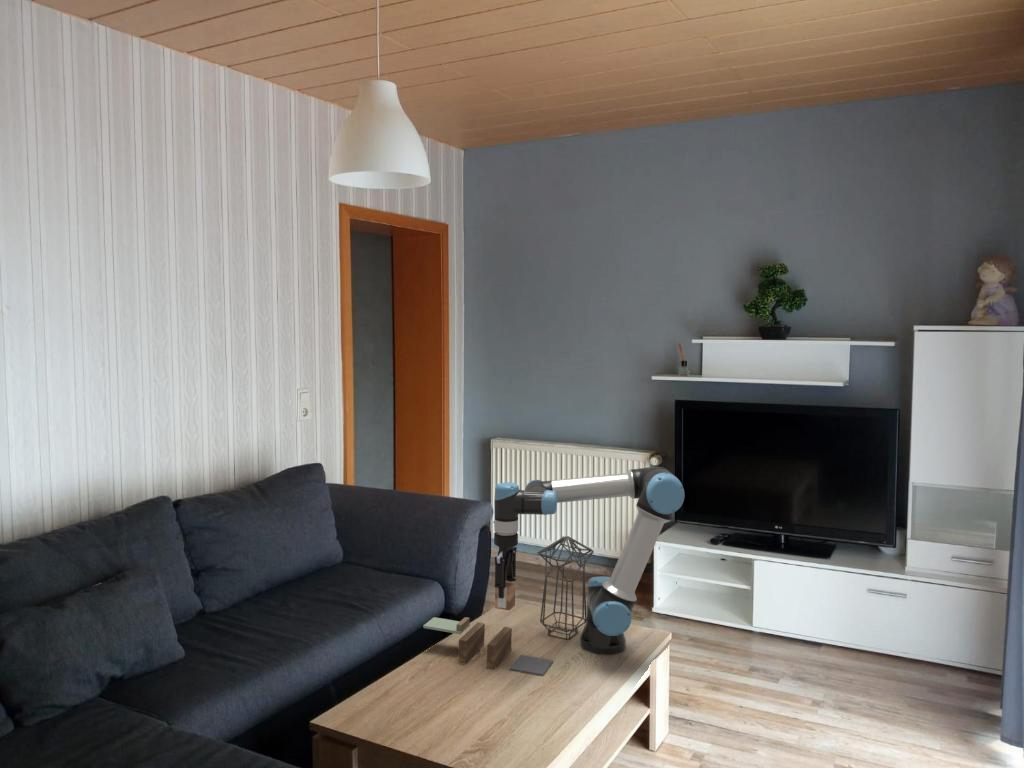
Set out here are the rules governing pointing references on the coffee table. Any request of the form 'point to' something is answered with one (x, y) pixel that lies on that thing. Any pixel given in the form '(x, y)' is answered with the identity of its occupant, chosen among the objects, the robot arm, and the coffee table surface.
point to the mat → (531, 665)
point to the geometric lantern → (564, 580)
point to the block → (510, 597)
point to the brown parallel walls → (475, 642)
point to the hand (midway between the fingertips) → (505, 604)
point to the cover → (448, 625)
